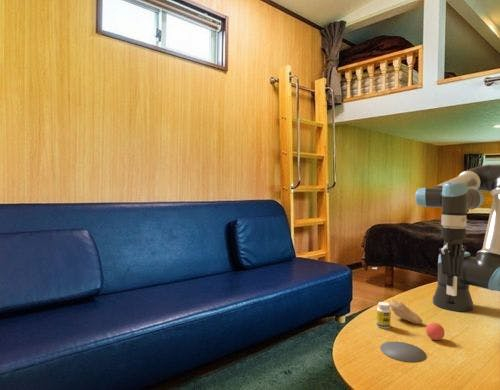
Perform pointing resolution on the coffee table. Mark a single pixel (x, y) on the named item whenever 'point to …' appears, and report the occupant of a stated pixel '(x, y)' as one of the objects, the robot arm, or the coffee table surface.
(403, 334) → the coffee table surface
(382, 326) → the supplement bottle
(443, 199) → the robot arm
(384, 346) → the disc
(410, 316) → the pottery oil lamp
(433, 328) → the ball
